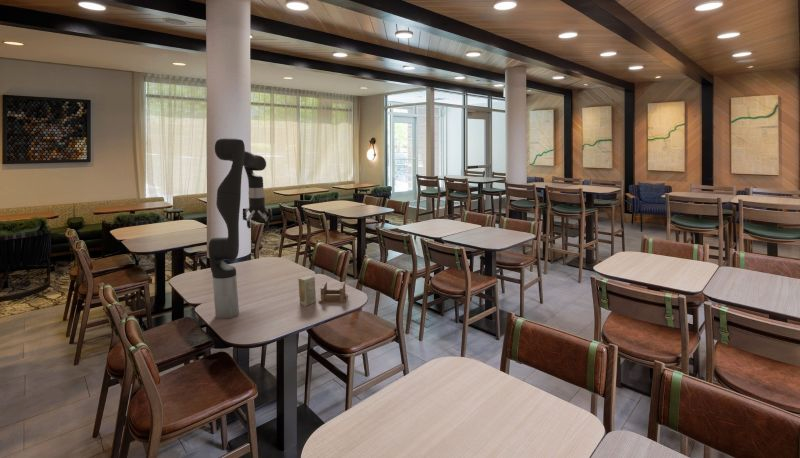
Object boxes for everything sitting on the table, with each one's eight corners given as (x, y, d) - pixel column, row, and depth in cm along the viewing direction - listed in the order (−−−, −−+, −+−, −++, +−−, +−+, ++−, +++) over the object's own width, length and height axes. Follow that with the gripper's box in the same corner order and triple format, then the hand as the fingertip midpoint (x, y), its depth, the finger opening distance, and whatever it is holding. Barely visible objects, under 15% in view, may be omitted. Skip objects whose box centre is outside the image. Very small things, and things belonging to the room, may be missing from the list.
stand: (345, 303, 197) (344, 288, 195) (318, 303, 197) (318, 288, 195) (347, 295, 206) (347, 281, 205) (322, 295, 206) (322, 281, 205)
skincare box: (310, 300, 200) (309, 274, 198) (316, 302, 198) (315, 276, 195) (298, 303, 195) (297, 278, 193) (305, 306, 193) (304, 280, 190)
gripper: (239, 197, 213) (241, 229, 216) (269, 197, 214) (270, 229, 217) (244, 195, 220) (246, 226, 223) (272, 195, 221) (274, 226, 224)
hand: (258, 228), depth 220 cm, fingers open, 8 cm apart
